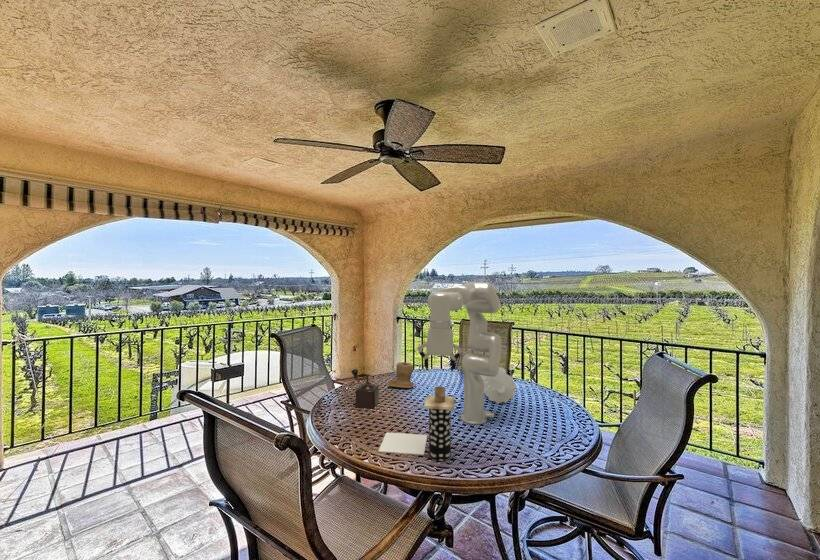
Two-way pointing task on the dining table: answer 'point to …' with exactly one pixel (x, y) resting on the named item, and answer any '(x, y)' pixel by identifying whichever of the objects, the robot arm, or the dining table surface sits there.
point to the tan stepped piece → (402, 376)
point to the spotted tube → (439, 434)
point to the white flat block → (403, 443)
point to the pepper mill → (366, 393)
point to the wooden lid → (439, 400)
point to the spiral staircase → (499, 386)
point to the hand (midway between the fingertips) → (439, 369)
